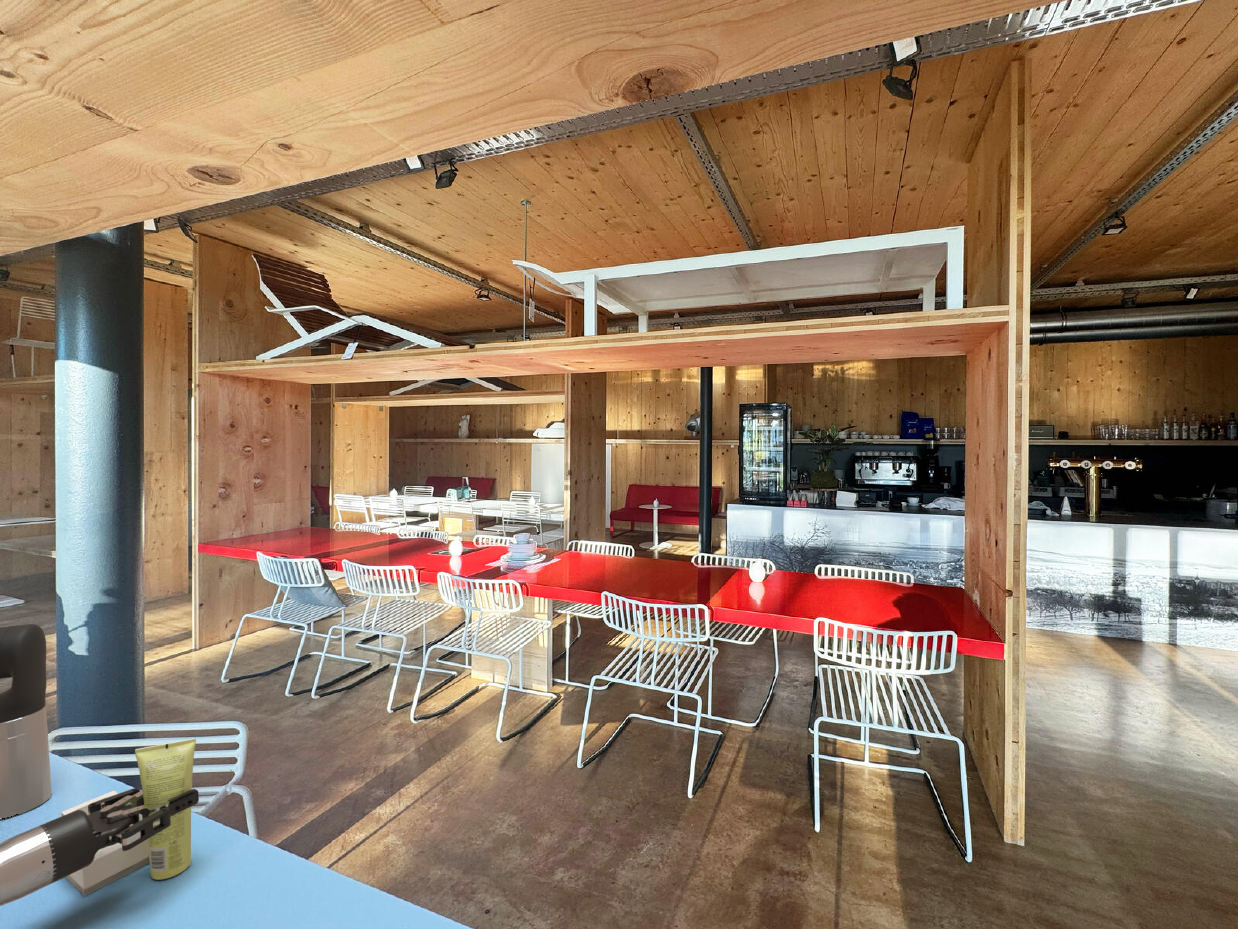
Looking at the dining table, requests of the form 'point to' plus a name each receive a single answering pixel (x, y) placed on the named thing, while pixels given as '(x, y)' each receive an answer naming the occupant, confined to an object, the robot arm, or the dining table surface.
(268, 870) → the dining table surface
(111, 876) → the endcap
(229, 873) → the dining table surface
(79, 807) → the endcap
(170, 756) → the tube
